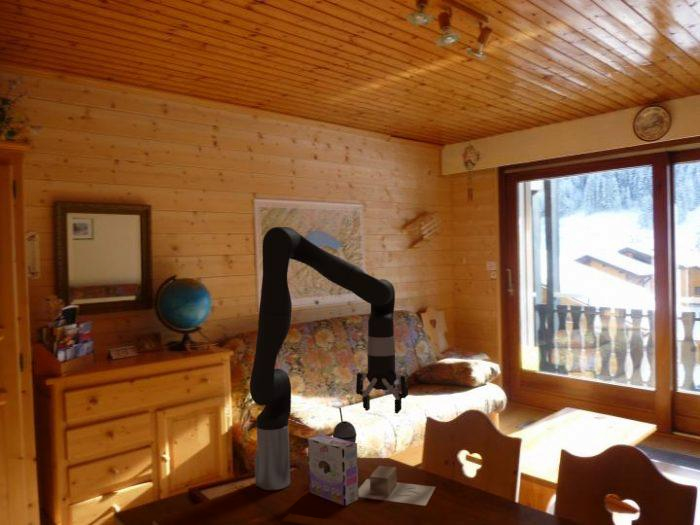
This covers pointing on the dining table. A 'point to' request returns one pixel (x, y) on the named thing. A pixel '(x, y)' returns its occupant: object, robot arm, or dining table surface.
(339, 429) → the beverage cup
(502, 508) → the dining table surface
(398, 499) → the board
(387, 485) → the block
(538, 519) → the dining table surface
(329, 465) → the candy box
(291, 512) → the dining table surface
